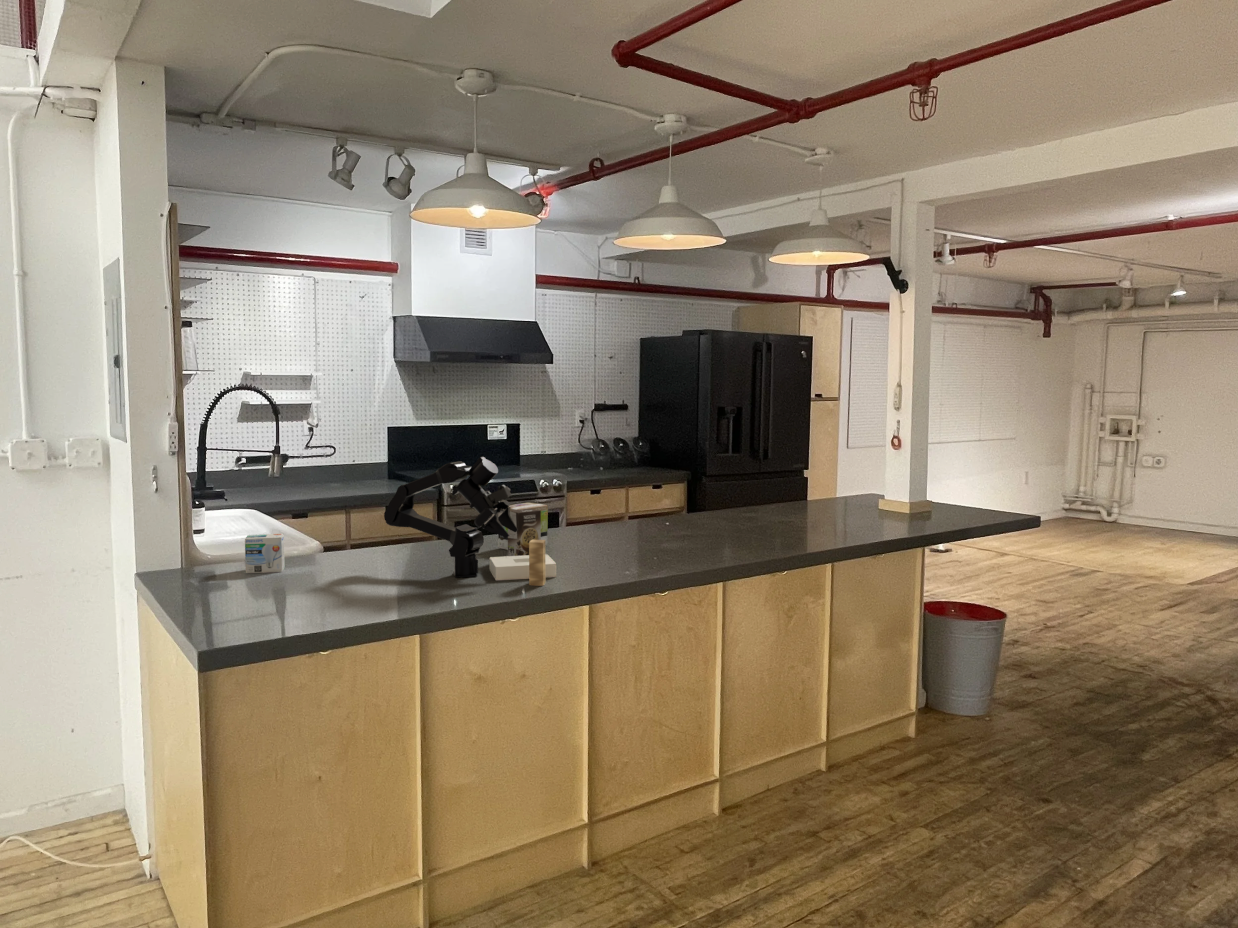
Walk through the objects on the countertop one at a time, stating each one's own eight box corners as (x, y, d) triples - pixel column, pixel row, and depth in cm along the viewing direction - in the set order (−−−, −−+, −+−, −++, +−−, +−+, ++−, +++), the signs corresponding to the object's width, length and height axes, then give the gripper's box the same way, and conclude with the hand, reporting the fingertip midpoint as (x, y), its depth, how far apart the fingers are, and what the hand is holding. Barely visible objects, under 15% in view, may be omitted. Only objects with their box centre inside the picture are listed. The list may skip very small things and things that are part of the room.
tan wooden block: (529, 585, 253) (529, 542, 252) (531, 582, 257) (531, 539, 256) (543, 585, 253) (543, 542, 252) (545, 582, 257) (545, 539, 256)
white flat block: (495, 580, 259) (495, 566, 259) (489, 569, 272) (489, 557, 272) (556, 576, 264) (556, 563, 263) (547, 566, 277) (547, 554, 277)
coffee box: (518, 562, 283) (517, 512, 281) (507, 559, 288) (506, 510, 286) (541, 559, 289) (541, 510, 287) (530, 555, 294) (530, 507, 292)
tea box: (518, 552, 299) (518, 509, 298) (497, 548, 305) (497, 506, 304) (548, 545, 311) (548, 503, 310) (527, 542, 317) (527, 501, 316)
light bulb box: (245, 574, 265) (243, 538, 264) (248, 569, 272) (246, 534, 271) (283, 572, 268) (282, 536, 267) (285, 567, 275) (284, 532, 273)
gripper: (484, 481, 251) (522, 520, 251) (503, 473, 270) (539, 510, 269) (458, 507, 253) (495, 547, 253) (478, 498, 272) (514, 535, 271)
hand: (512, 533), depth 261 cm, fingers open, 9 cm apart
